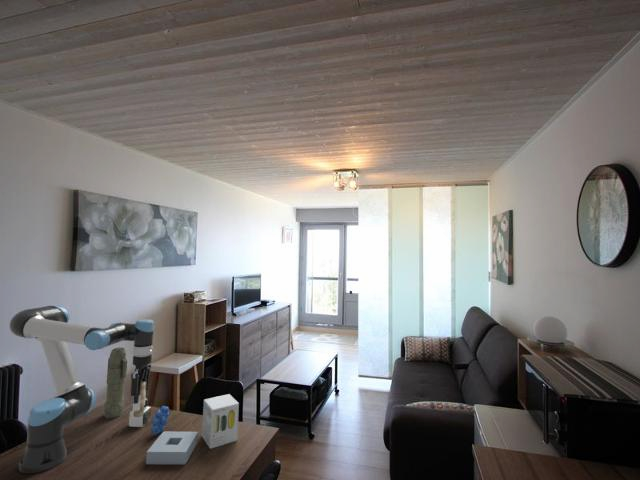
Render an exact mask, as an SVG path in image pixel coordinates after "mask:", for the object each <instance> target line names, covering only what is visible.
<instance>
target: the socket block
mask: <svg viewBox="0 0 640 480" xmlns="http://www.w3.org/2000/svg"><path fill="white" fill-rule="evenodd" d="M198 443H199V431H169V430H168V431H167V430H166V431H164V430H163V431H162V432H161V434H160V435H159V436H158V437H157V439H156V440H155V441H154V442H153V443H152V445H151V446H150V447H149V448H148V450H147V451H146V460H145V465H186V464H187V462H188V460H189V459H190V457H191V455H192V454H193V451H195V448H196V446H197V445H198Z"/></svg>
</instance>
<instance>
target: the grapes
mask: <svg viewBox="0 0 640 480" xmlns="http://www.w3.org/2000/svg"><path fill="white" fill-rule="evenodd" d="M169 411H170V408H169V406H165V405H162V406H161V407H160V408H159V409H158V410H157V411H156V412H155V415H154V417H153V418H152V420H151V424H152V426H151V427H150V428H151V429H150V430H151V432H152V433H153V434H154V436H157V435H159V434H160V433H163V431H164V429H165V428H164V427H165V426H167V424H168V421H169V420H168V418H169V417H170V416H171V415H170V412H169Z"/></svg>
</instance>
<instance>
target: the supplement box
mask: <svg viewBox="0 0 640 480" xmlns="http://www.w3.org/2000/svg"><path fill="white" fill-rule="evenodd" d="M239 406H240V403H239V402H238V401H237V400H236V399H235V398H234V397H233V396H232V395H231V394H230V393H228V394H223V395H219V396H214V397H210V398H205V399H203V407H202V409H203V410H202V411H203V412H202V426H201V437H202V438H203V440H204V441H205V443H206V445H207V446H208V448H209V449H210V450H211V449H214V448H217V447H221V446H224V445H226V444H230V443H234V442H236V441H238V431H239V412H240V411H239V408H240V407H239Z"/></svg>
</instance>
